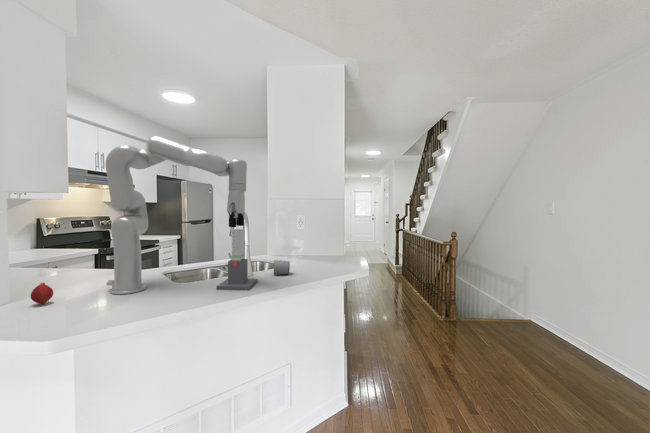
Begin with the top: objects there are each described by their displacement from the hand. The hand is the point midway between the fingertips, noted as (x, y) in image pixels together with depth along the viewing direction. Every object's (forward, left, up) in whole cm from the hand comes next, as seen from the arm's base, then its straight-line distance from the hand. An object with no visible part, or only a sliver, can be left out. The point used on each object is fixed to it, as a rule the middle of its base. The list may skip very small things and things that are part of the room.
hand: (236, 226), depth 132 cm
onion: (-60, -30, -27) cm, 73 cm away
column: (+1, 0, -19) cm, 19 cm away
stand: (+1, 0, -27) cm, 27 cm away
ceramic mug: (+15, +24, -27) cm, 39 cm away
